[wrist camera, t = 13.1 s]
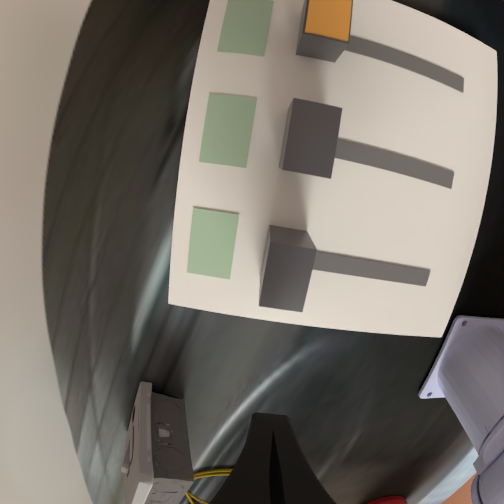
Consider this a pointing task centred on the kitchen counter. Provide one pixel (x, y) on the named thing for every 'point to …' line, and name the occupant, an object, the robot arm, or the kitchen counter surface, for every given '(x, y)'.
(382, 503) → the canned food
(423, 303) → the breaker panel
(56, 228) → the kitchen counter surface
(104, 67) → the kitchen counter surface
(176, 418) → the electrical switch
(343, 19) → the handle
